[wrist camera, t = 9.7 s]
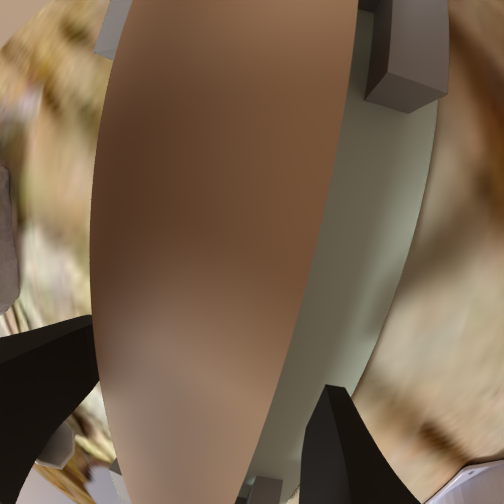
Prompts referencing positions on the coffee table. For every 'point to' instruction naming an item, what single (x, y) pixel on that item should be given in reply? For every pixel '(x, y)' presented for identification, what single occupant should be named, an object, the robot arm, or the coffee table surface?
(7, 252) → the stone block
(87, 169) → the coffee table surface
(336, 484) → the robot arm
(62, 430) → the tube
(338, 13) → the slat
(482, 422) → the coffee table surface
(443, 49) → the end cap cradle
